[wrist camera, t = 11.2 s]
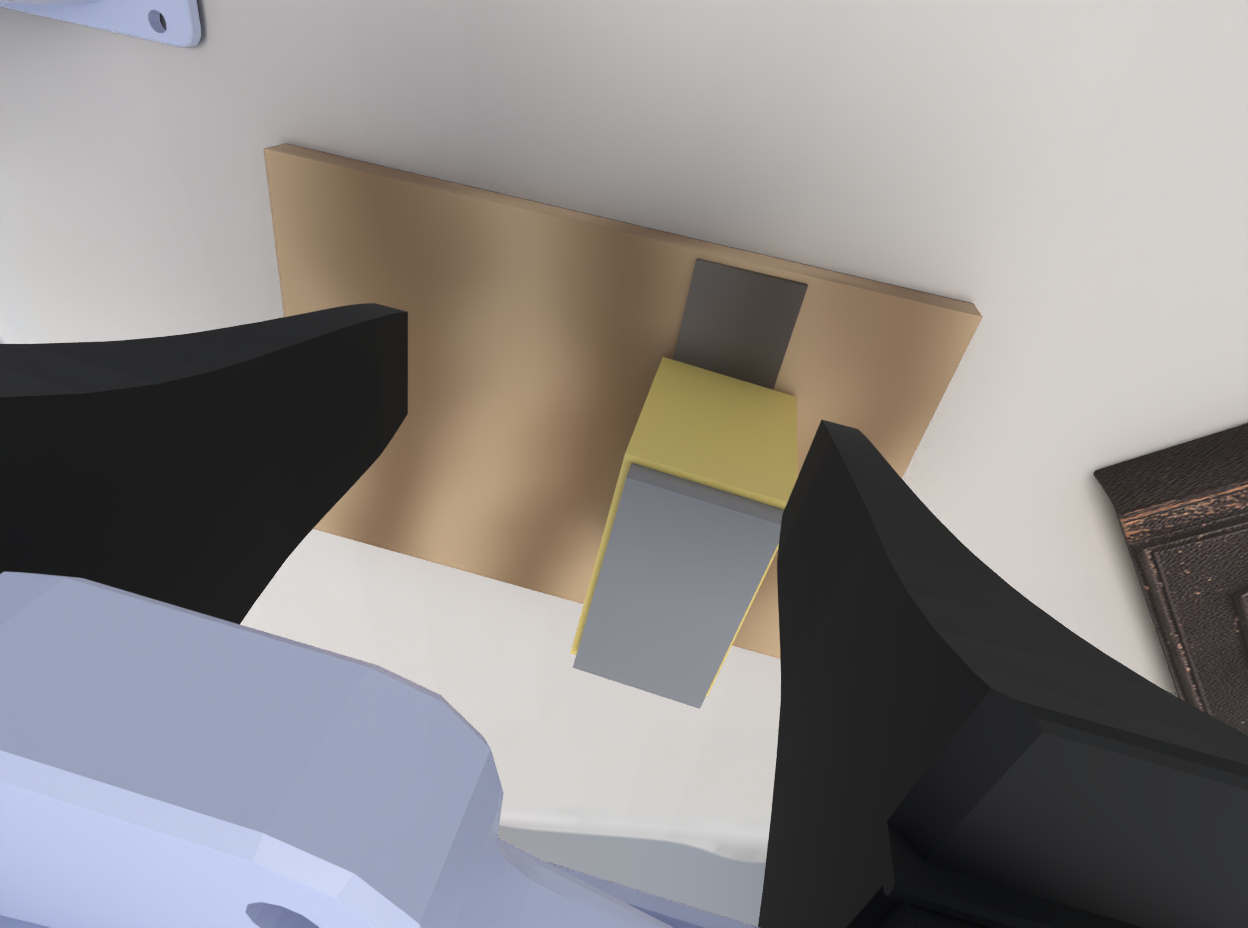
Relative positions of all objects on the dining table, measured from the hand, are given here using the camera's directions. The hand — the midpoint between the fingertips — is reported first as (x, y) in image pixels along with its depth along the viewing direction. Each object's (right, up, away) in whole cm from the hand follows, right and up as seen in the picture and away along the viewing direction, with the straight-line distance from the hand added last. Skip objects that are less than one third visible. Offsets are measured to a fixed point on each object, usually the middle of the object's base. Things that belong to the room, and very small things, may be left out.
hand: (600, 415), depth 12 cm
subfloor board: (-1, 0, +11) cm, 11 cm away
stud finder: (+3, -1, +10) cm, 10 cm away
